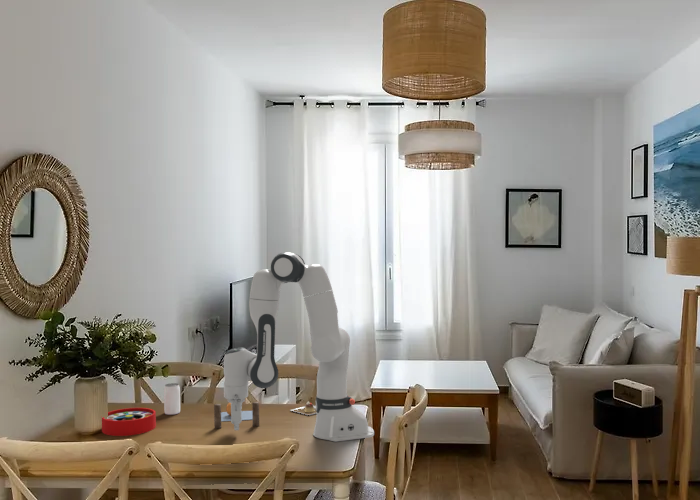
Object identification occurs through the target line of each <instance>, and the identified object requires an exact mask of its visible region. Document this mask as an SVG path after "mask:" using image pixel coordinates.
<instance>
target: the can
mask: <svg viewBox="0 0 700 500" xmlns="http://www.w3.org/2000/svg"><path fill="white" fill-rule="evenodd" d="M179 384H180V383H175V382H173V383H166V384H165V385H164V388H163V396H164V397H163V402H164V403H163V404H164V405H163V406H164V407H163V409H164V411H163V412H164V414H165V415H168V416H172V415H173V416H174V415H178V414H180V412H181V388H180V385H179Z"/></svg>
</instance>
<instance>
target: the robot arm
mask: <svg viewBox="0 0 700 500" xmlns="http://www.w3.org/2000/svg"><path fill="white" fill-rule="evenodd" d="M287 283H297V284H298V285H299V286H300V289H301V293H302V296H303V302H304V305H305V308H306V309H305V310H306V312H307V313H306V314H307V315H308V316H307V317H308V321H309V322H308V323H309V333H310V341H311V342H310V343H311V344H310V345H311V346H310V351H311V354H312V356H313V358H314V359H315V360H316V361H318V362H319V364H318V369H317V372H316V373H317V374H316V396H315V406H316V408H315V411H316V412H315V413H317V414H316V415H315V416H316V417H315V425H314V429H313V433H312V435H313V437H315V438H317V439H321V440H327V441H331V442H344V441H352V440H359V439H361V440H362V439H367V438H369V439H370V438H372V437H374V436H375V430H374V429H373V427H371V426H369V424H368V419H367V417H366V415H365V414H364V413H363V412H361V411H360V410H359V409H357V408H356V407H354V405H355V404H356V400H355V399H354V398H352V397H351V396H350V395H348V394H347V393H348V392H347V391H348V387H347V384H348V383H347V382H348V381H347V375H348V366H349V356H350V355H349V352H350V343H351V338H350V335H349V333H348V331H346V330H345V329H343V328H341V327H339V319H338V312H339V311H338V306H337V303H336V299H335V295H334V291H333V288H332V284H331V281H330V277H329V276H328V273H327V272H326V269H325V268H324V267H323V265H321V264H318V263H312V264H306V262H305V261H304V259H303V258H302V256H301V255H299V254H297V253H294V252H290V251H286V252H281V253H278V254H276V255H275V256H274V257H273V259H272V261H271V263H270V268H268V269H267V268H263V269H260V270H257V271H256V272H255V273H254V275H253V277H252V280H251V285H250V290H249V291H250V292H249V299H248V301H249V303H248V304H249V305H248V306H249V307H248V308H249V315H250V319H251V320H252V322H253V324H254V326H255V330H256V334H257V335H256V339H257V341H256V353H254V352H253V351H250V350H248V349H246V348H245V347H234V348H231V349H229V350H227V351H226V352H225V353H224V358H223V375H224V381H223V398H224V399H226V400H227V402H228V404H229V403H231V421H230V422H231V424H232V425H233V429H234V431H239V430H240V424H241V423H242V421H243V420H242V415H241V411H242V409H243V402H246V398H248V397H249V382H252V384H253V385H254V386H255V387H257V388H259V389H268V388H271V387H272V386H273V385H275V383H276V382H277V380H278V379H279V368H278V365H277V363H276V359H275V358H276V357H275V347H276V346H275V345H276V343H275V342H276V341H275V340H276V339H275V337H276V325H277V318H278V312H279V305H280V293H281V292H280V291H281V289H282V288H281V287H282V286H283V285H284V284H287Z"/></svg>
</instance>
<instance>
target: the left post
mask: <svg viewBox="0 0 700 500" xmlns="http://www.w3.org/2000/svg"><path fill="white" fill-rule="evenodd" d="M213 409H214V410H213V414H214V417H213V418H214V422H213V423H214V430H215V429H217V430H218V429H222V422H221V412H222V403H214V404H213Z"/></svg>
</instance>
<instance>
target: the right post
mask: <svg viewBox="0 0 700 500" xmlns="http://www.w3.org/2000/svg"><path fill="white" fill-rule="evenodd" d="M251 406H252V408H251V409H252V410H251V411H252V416H253V420H252V426H253V427H256V428H257V427H260V402H259V401H253V402H252V404H251Z"/></svg>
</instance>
